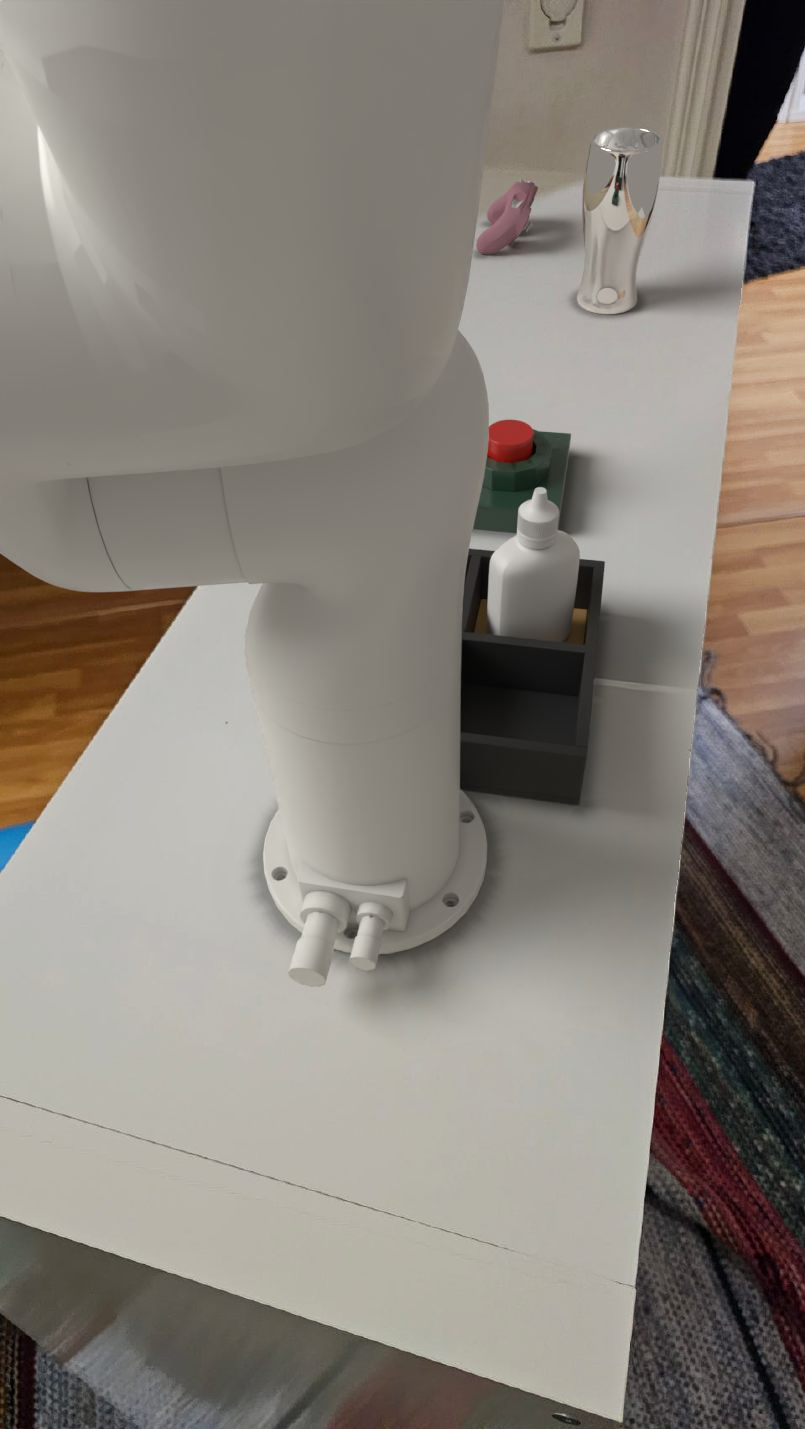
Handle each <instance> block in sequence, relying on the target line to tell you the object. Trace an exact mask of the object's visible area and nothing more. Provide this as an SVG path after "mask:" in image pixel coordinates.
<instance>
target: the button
mask: <svg viewBox="0 0 805 1429" xmlns="http://www.w3.org/2000/svg"><path fill="white" fill-rule="evenodd" d="M533 429H534V428H533V427H532V426H531V425H530V424H528V423H527V422H524V421H522V420H519V419H502V420H498V421H495V422H493V423H491V424H489V444H488V452H487V455H488V457H489V458H491V459H493V460H495V461H498V462H504V463H516V462H520V461H524V460H527V459H529V458H530V456H531V455H532V450H533V436H534V432H533Z"/></svg>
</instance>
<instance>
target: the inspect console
mask: <svg viewBox="0 0 805 1429" xmlns="http://www.w3.org/2000/svg"><path fill="white" fill-rule="evenodd" d="M532 429H533V432H534V436H533V450H532V455H531V456H530V458H529V459H527V460H524V461H520V462H516V463H504V462H498V461H495V460H493V459H491V458H489V457H488V455H487V460H486V467H485V474H484V480H483V484H482V489H481V494H480V498H479V503H478V508H477V512H476V517H475V522H474V526H473V530H475V531H486V532H487V531H488V532H500V533H510V534H517V522H518V509H519V507H520V505H521V504H523V503H524V502H526V501H528V500H531V499H532V497H533V493H534V490H535V489H536V488H538V487H543V488H545V489H546V491H547V498H548V500H549V501H551V502H553V503H554V504H555V505H556V506H557V507H558V509H559V521H558V528H559V526H560V521H561V512H562V505H563V499H564V494H565V493H564V492H565V485H566V477H567V471H568V465H569V458H570V449H571V441H572V440H571V439H572V433H568V432H557V431H556V432H555V431H554V432H553V431H542V430H537V429H534V428H532Z"/></svg>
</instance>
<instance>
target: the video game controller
mask: <svg viewBox="0 0 805 1429" xmlns="http://www.w3.org/2000/svg"><path fill="white" fill-rule="evenodd" d="M538 189H539V187H538V186H537V185H536V184H535V183H534V182H532V181H530V180H526V181H524V180H523V179H522V177H520V179H519V181H516V182H514V183H513V185H512V186H511V187H510V188H509V189H508V190H507V191H506V192H505V193H504V194H503V195H501V196H500V197H499V198H498V199H496V200H494V202H492V203H491V205H490V206H489V208H488V210H487V212H486V219H487V221H488V222H489V223H490V224H491V225H490V226H489V227H488V228H486V229H485V230H484V231H482V233H481V234H480V235H479V236H478V238H477V240H476V243H475V244H476V245H475V248H476V250H477V251H478V253H479V254H481V255H490V254H491V255H492V254H495V253H498V252H500V251H501V250H503V249H504V248H506V247H507V246H508V247H512V246H513V244H514V243H515V241H516V240H517V239H518V238H519V237H520V235H521V233H522V232H523V231H524V230H525V233H527V232H529V231H530V229H531V227H532V220H530V219H529V218H530V215H531V212H532V205H533V203H534V201H535V197H536V195H537V192H538ZM529 220H530V221H529Z"/></svg>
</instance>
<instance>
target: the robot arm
mask: <svg viewBox="0 0 805 1429" xmlns="http://www.w3.org/2000/svg"><path fill="white" fill-rule="evenodd" d="M504 4H505V0H0V555H2V556H3V557H4V558H6V559H8V560H9V561H10V562H12V563H13V564H15V565H16V566H17V567H19V568H21V569H22V570H23V571H25V572H27V573H29V574H30V575H32V576H33V577H35V578H37V579H39V580H41V581H43V582H45V583H47V584H49V585H52V586H55V587H57V588H61V589H65V590H70V591H75V592H82V593H83V592H84V593H117V592H118V593H120V592H121V593H122V592H134V591H135V592H137V591H145V590H146V591H147V590H161V589H175V588H176V589H177V588H187V587H201V586H213V585H214V586H215V585H229V584H245V583H247V584H248V585H259V584H260V585H261V586H260V588H259V590H258V592H257V594H256V596H255V598H254V600H253V603H252V605H251V609H250V613H249V615H248V619H247V623H246V626H245V627H246V628H245V634H244V652H243V653H244V662H245V669H246V674H247V678H248V682H249V687H250V691H251V694H252V699H253V704H254V708H255V712H256V717H257V721H258V725H259V730H260V733H261V738H262V743H263V747H264V751H265V756H266V760H267V764H268V768H269V773H270V778H271V782H272V786H273V790H274V795H275V799H276V803H277V804H276V805H277V808H278V809H277V811H275V814H274V816H273V817H272V818H271V821H270V823H269V826H268V829H267V831H266V834H265V837H264V845H263V852H262V861H263V872H264V877H265V880H266V884H267V888H268V891H269V893H270V895H271V898H272V900H273V902H274V904H275V906H276V907H277V909H278V910H279V912H280V913H281V914H282V916H283V917H284V918H285V920H287V922H288V924H290V925H291V926H292V927H294V928H295V929H296V930H297V931H298V932H300V933H301V936H300V938H298V940H297V942H296V944H295V948H294V951H293V955H292V958H291V960H290V965H289V968H288V972H287V973H288V976H289V978H290V979H291V980H293V981H294V982H296V983H298V984H300V985H303V986H307V987H311V988H318V987H322V986H325V985H326V982H327V979H328V976H329V972H330V969H331V965H332V961H333V957H334V954H335V950H336V951H339V952H343V953H347V954H349V953H350V956H349V960H348V962H349V964H350V966H352V967H353V968H355V969H357V970H360V971H367V972H368V971H374V970H375V969H376V968H377V963H378V959H379V955H389V954H394V953H399V952H402V951H406V950H411V949H414V948H416V947H419V946H421V945H423V944H425V943H428V942H430V941H433V940H434V939H436V938H438V937H439V936H440V935H442V934H443V933H445V932H446V931H447V930H449V929H451V928H452V927H453V926H454V925H455V924H456V923H457V922H458V921H460V920H461V918H462V917H463V916H465V914H466V913H467V912H468V910H469V909H470V907H471V906H472V904H473V903H474V901H475V900H476V898H478V895H479V892H480V890H481V887H482V885H483V882H484V880H485V875H486V869H487V863H488V839H487V834H486V828H485V824H484V822H483V820H482V817H481V815H480V812H479V811H478V810H479V809H477V807H476V806H475V804H474V803H473V802H472V800H471V799H470V796H468V794H467V793H466V792H465V791H464V790H461V789H460V710H461V642H462V607H463V593H464V582H465V572H466V565H467V558H468V551H469V549H470V545H471V540H472V536H473V530H474V529H473V526H474V522H475V517H476V512H477V508H478V503H479V498H480V494H481V489H482V484H483V480H484V474H485V467H486V460H487V452H488V444H489V426H490V404H489V396H488V390H487V385H486V380H485V376H484V372H483V369H482V367H481V364H480V361H479V359H478V357H477V354H476V352H475V351H474V349H473V347H472V346H471V344H470V343H469V341H468V340H467V339H466V337H465V336H464V334H462V332H461V331H460V330H459V327H460V323H461V318H462V316H463V315H462V314H463V310H464V306H465V301H466V296H467V291H468V287H469V282H470V281H469V280H470V275H471V268H472V267H471V266H472V259H473V252H474V246H475V245H474V244H475V239H476V238H475V237H476V230H477V223H478V216H479V210H480V209H479V208H480V201H481V194H482V185H483V178H484V169H485V162H486V154H487V145H488V137H489V128H490V121H491V113H492V105H493V96H494V90H495V80H496V74H497V73H496V72H497V65H498V57H499V48H500V38H501V31H502V21H503V12H504ZM352 937H354V938H352Z"/></svg>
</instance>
